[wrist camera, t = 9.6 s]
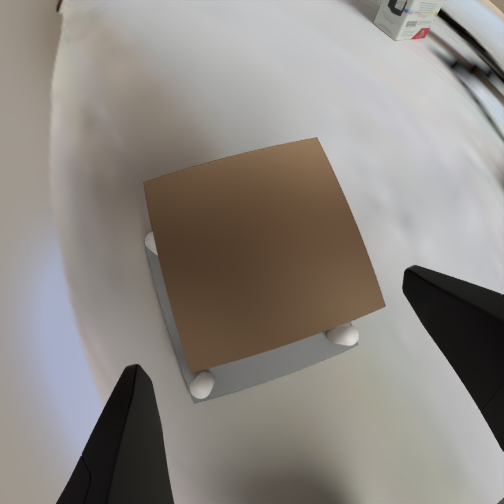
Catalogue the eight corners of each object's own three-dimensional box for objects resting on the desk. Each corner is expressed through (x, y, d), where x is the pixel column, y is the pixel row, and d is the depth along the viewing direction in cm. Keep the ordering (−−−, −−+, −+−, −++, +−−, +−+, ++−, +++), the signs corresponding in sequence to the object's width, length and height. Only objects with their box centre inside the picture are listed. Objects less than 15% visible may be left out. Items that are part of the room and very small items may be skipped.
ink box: (404, 21, 31) (426, -29, 20) (425, 39, 30) (452, -12, 19) (371, 23, 30) (393, -37, 19) (395, 42, 29) (423, -19, 18)
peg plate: (353, 344, 20) (376, 347, 16) (196, 399, 19) (185, 416, 15) (297, 196, 23) (307, 171, 19) (147, 243, 21) (129, 226, 18)
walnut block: (296, 318, 19) (385, 306, 7) (224, 341, 19) (190, 372, 6) (273, 249, 21) (317, 137, 8) (203, 269, 20) (143, 182, 7)
